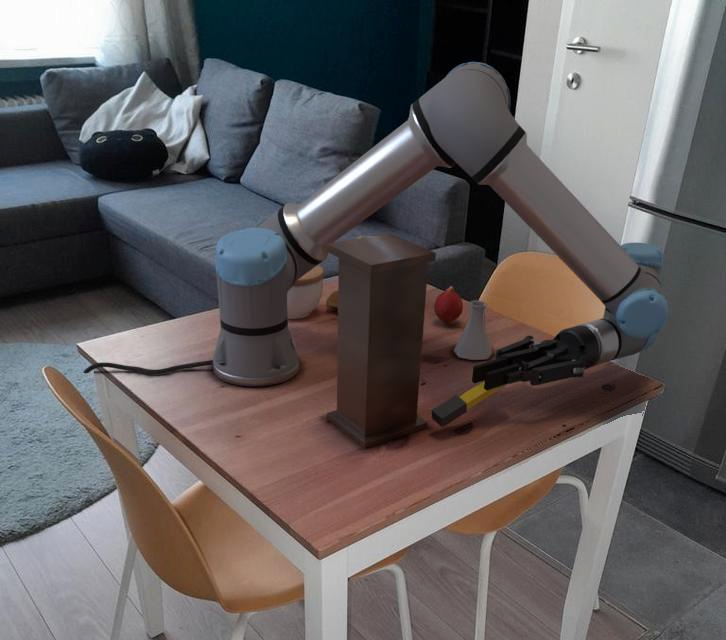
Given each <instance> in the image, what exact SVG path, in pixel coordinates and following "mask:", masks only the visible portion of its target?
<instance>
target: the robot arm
mask: <svg viewBox="0 0 726 640" xmlns="http://www.w3.org/2000/svg"><path fill="white" fill-rule="evenodd" d="M510 93H511V92H510V90H509V87H508V86H507V83H506V80H505V79H504V77H503V76H502V75H501V73H499V71H498V70H496V69H495V68H494V67H493V66H491V65H488V63H483V62H481V61H480V62H479V61H478V62H477V61H470V62H465V63H461V64H459V65H457V66H456V67H454V68H452V69H451V71H449V72H448V73H447V74H446V76H445V77H444V78H443V79H441V81H439V82H438V83H436V84H435V85H434V86H433V87H431V88H430V89H429V90H427V91H426V92H425V93H424V94H423V95H422V96H420V97H419V98H418V99H416V100H415V101H414V102H413V103H411V104H410V109H409V115H408V118H407V120H406V121H405V122H404V123H402V124H401V125H400V126H398V127H397V128H396V129H394V130H393V131H392V132H391V133H389V134H388V135H387V136H385V137H384V138H383V139H381V140H380V141H379V142H378V143H377V144H375V145H374V146H373V147H371V148H370V149H369V150H368V151H366V152H365V153H364V154H363V155H361V156H360V157H359V158H357V159H356V160H355V161H354V162H352V163H351V164H350V165H349V166H347V167H346V168H344V169H343V170H342V171H341V172H339V173H338V174H337V175H336V176H335V177H332V179H331V180H329V181H328V182H327V183H326V184H324V185H323V186H322V187H320V188H319V189H318V190H317V191H315V192H314V193H313V194H312V195H310V196H309V197H308V198H306V199H305V200H304V201H302V202H301V203H300V204H299V203H295V202H287V203H286V204H284V205H283V206H282V207H280V208H279V209H278V210H277V211H275V212H274V213H273V214H271V215H270V216H269V217H267V218H264V219H263V220H262V221H261V222H259V223H258V224H257V225H256V226H255V227H246V228H239V229H238V230H237V231H235V230H234V231H230V232H228V233H226V234H224V235H223V236H222V237H221V238H219V240H218V242H217V244H216V246H215V257H214V267H215V268H214V269H215V272H216V273H215V274H216V285H217V298H218V310H219V322H220V330H219V334H218V338H217V342H216V346H215V350H214V353H213V357H212V359H211V360H203V361H195V362H189V363H184V364H177V365H172V366H169V367H164V368H159V369H158V368H157V369H151V368H144V367H140V366H134V365H126V364H125V365H124V364H120V363H113V362H104V361H102V362H96V363H93V364H91V365H89V366H88V367H86V368H85V369H84V371H82V373H83V374H89V373H91V372H92V371H94V370H96V369H99V368H109V369H110V368H112V369H117V370H122V371H129V372H138V373H141V374H146V375H162V374H167V373H172V372H176V371H181V370H186V369H191V368H200V367H206V366H212V369H213V373H214V375H215V376H216V377H217V378H219V380H221V381H224V382H225V383H228V384H231V385H236V386H240V387H251V388H252V387H253V388H254V387H255V388H257V387H268V386H274V385H278V384H280V383H284V382H287V381H288V380H290V379H292V378H293V377H295V376H296V375H297V374H298V373H299V369H300V358H299V353H298V351H297V348H296V342H295V340H294V337H293V336H292V335H291V332H290V329H289V321H288V311H287V292H288V291H289V290H290V289H291V287H292V286H293V285H294V283H295V282H296V281H297V280H298V279H299V278H301V277H302V276H303V275H305V274H306V273H307V272H309V271H310V270H312V269H313V268H314V267H316V266H317V265H320V264H321V263H323V262H324V261H325V260H326V259H327V258H328V256H329V253H328V252H327V244H328V243H334V242H337V241H338V240H339V239H340V238H342V237H343V236H345V235H346V234H347V233H349V232H350V231H351V230H353V229H354V228H355V227H356V226H358V225H359V224H361V223H363V222H364V221H365V220H367V219H368V218H369V217H370V216H372V215H373V214H374V213H376V212H377V211H378V210H380V209H381V208H383V207H384V206H385V205H387V204H388V203H389V202H391V201H392V200H394V199H395V198H396V197H398V196H400V195H401V193H403V192H404V191H406V190H407V189H408V188H409V187H411V186H413V185H414V184H415V183H417V182H418V181H419V180H421V179H422V178H424V177H425V176H426V175H428V174H429V173H431V171H433V170H434V169H435V168H437V167H443V168H448V169H451V168H453V167H454V166H456V165H458V166H459V167H460V168H461V170H462V169H463V171H464V172H465V173H466V174H468V176H469V177H471V179H472V180H473V181H474V182H475V183H476V184H478V185H481V186H483V185H487V186H489V187H490V188H491V189H492V190H493V191H494V192H495V193H496V194H497V195H498V196H499V197H500V198H501V199H502V200H503V201H504V203H506V204H507V205H508V206H509V207H510V209H512V211H513V212H514V213H515V214H516V215H517V216H518V217H519V218H520V219H521V220H522V221H523V222H524V223H525V224H526V226H528V227H529V228H530V229H531V230H532V231H533V232H534V234H535V235H536V236H538V238H539V239H540V240H541V241H542V242H543V243H545V245H546V246H547V247H548V248H550V250H551V251H552V252H553V253H554V254H555V255H556V256H557V258H559V259H560V260H561V261H562V263H564V265H565V266H566V267H568V269H570V271H572V273H573V274H574V275H575V276H576V277H577V278H578V279H579V280H580V282H582V283H583V284H584V285H585V286H586V287H587V288H588V289H589V290H590V291H591V292H592V293H593V295H595V297H596V298H597V299H598V300H599V301H600V302H601V303H602V305H603V306H605V307H604V312H603V317H602V318H599V319H595V320H592V321H588V322H585V323H580V324H578V325H574V326H571V327H567V328H564V329H562V330H560V331H559V332H558V333H556V335H555V336H554V337H553V338H552V339H543V340H541V341H536V340H535V338H534V336H533V335H529V334H528V335H526V336H525V337H524V338H523V339H521V340H518V341H516V342H513V343H510V344H508V345H506V346H504V347H500V348H498V349H496V351H495V357H494V358H495V359H492V360H488V361H486V362H483V363H479V364H476V365H473V367H472V375H471V376H472V377H471V382H472V383H473V384H479V383H481V382H483V381H485V382H484V389H485V390H490V389H493V388H496V387H500V386H503V385H505V386H507V385H512V384H515V383H519V382H521V383H526V382H529V383H530V385H531V386H539V385H544V384H549V383H552V382H558V381H561V380H566V379H571V378H583V377H584V375H585V371H586V370H588V369H590V368H593V367H596V366H599V365H601V364H605V363H609V362H612V361H615V360H619V359H623V358H625V357H628V356H633V355H636V354H638V353H640V352H642V351H644V350H646V349H648V348H649V347H651V346H652V345H653V344H654V342H655V341H656V339H657V337H658V334H659V333H660V331H662V330H663V329H664V328H665V326H666V324H667V322H668V319H669V302H668V298H667V296H666V295H665V291H664V290H663V286H662V284H661V280H660V273H661V269H662V268H663V265H662V263H663V256H664V253H663V250H662V249H661V248H660V247H658V246H656V245H654V244H650V243H646V242H627V243H626V242H625V243H623V244H619V242H618V241H617V240H616V239H615V238H614V237H613V236H612V235H611V234H610V233H609V231H607V229H606V228H605V227H604V225H602V224H601V223H600V222H599V221H598V219H596V218H595V216H593V214H591V212H590V211H589V210H588V209H587V208H586V207H585V205H583V203H582V202H581V201H580V200H579V199H578V198H577V197H576V196H575V195H574V194H573V193H572V192H571V190H570V189H568V187H567V186H566V185H565V184H564V183H563V182H562V181H561V180H560V179H559V178H558V176H556V174H555V173H554V172H553V171H552V170H551V169H550V168H549V167H548V166H547V165H546V163H544V162H543V161H542V159H541V158H540V157H539V156H538V155H537V154H536V153H535V152H534V150H532V148H530V147H529V146H528V133H527V131H525V130H524V128H522V126H521V125H520V124H519V122H518V121H517V120H516V119H515V117H514V116H513V115H512V113H511V103H512V102H511V94H510ZM506 384H507V385H506Z"/></svg>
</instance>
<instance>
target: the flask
mask: <svg viewBox="0 0 726 640" xmlns="http://www.w3.org/2000/svg"><path fill="white" fill-rule="evenodd" d="M469 306H470V311H469V315H468V319H467V322H466V324H465V326H464V329H463V331H462V333H461V336H460V337H459V340H458V341H457V343H456V345H455V347H454V350H453V352H454V353H455V355H456V356H457V357H458V358H462V359H465V360H470V361H479V360H488V359H489V358H490V357H491V356H492V354H493V351H492V347H491V343H490V340H489V336H488V331H487V326H486V317H485V316H486V315H485V311H486V308H487V307H488V303H487V302H486V301H485V300H480V299H479V300H477V299H476V300H475V299H474V300H471V301H470V302H469Z"/></svg>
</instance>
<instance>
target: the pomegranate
mask: <svg viewBox="0 0 726 640" xmlns="http://www.w3.org/2000/svg"><path fill="white" fill-rule="evenodd" d="M463 309H464V302H463V300H462V298H461V296H460V295H459V294H458V293H457V292H456V291H455V290H454V287H453V286H449V287H448V288H447V289H445V290H444V291H442V292H441V293H439V294H438V296H436V298H435V301H434V305H433V311H434V314H435V316H436V317H437V318H438V319H439V320H440V321H441V322H443V323H444V324H445V325H451V324H452V323H453V322H455V321H456V320H457V319H459V318H460V316H461V315H462V313H463Z"/></svg>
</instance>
